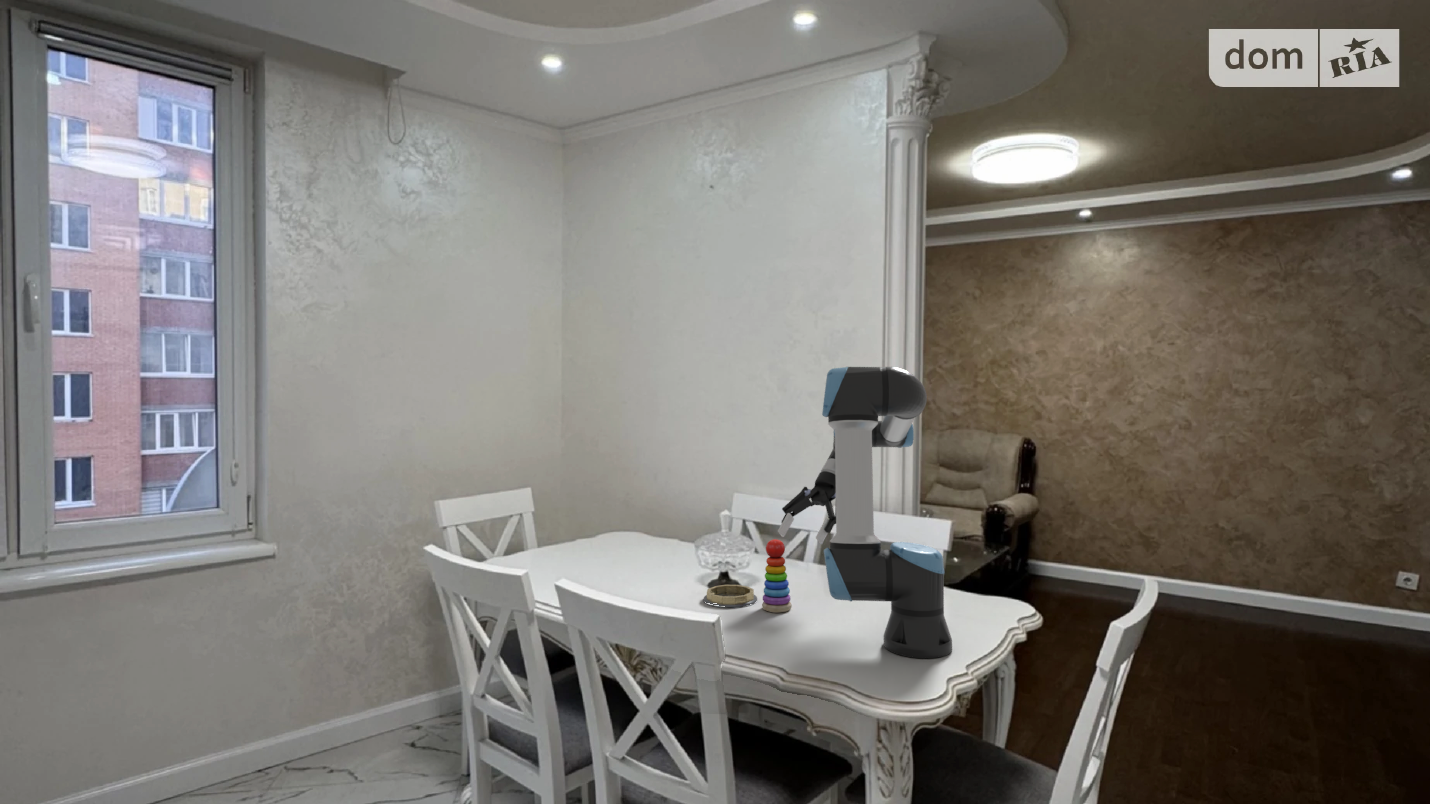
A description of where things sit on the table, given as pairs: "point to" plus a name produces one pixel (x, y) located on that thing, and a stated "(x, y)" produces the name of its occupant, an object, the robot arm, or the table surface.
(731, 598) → the collar plate
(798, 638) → the table surface
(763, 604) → the stacking toy
